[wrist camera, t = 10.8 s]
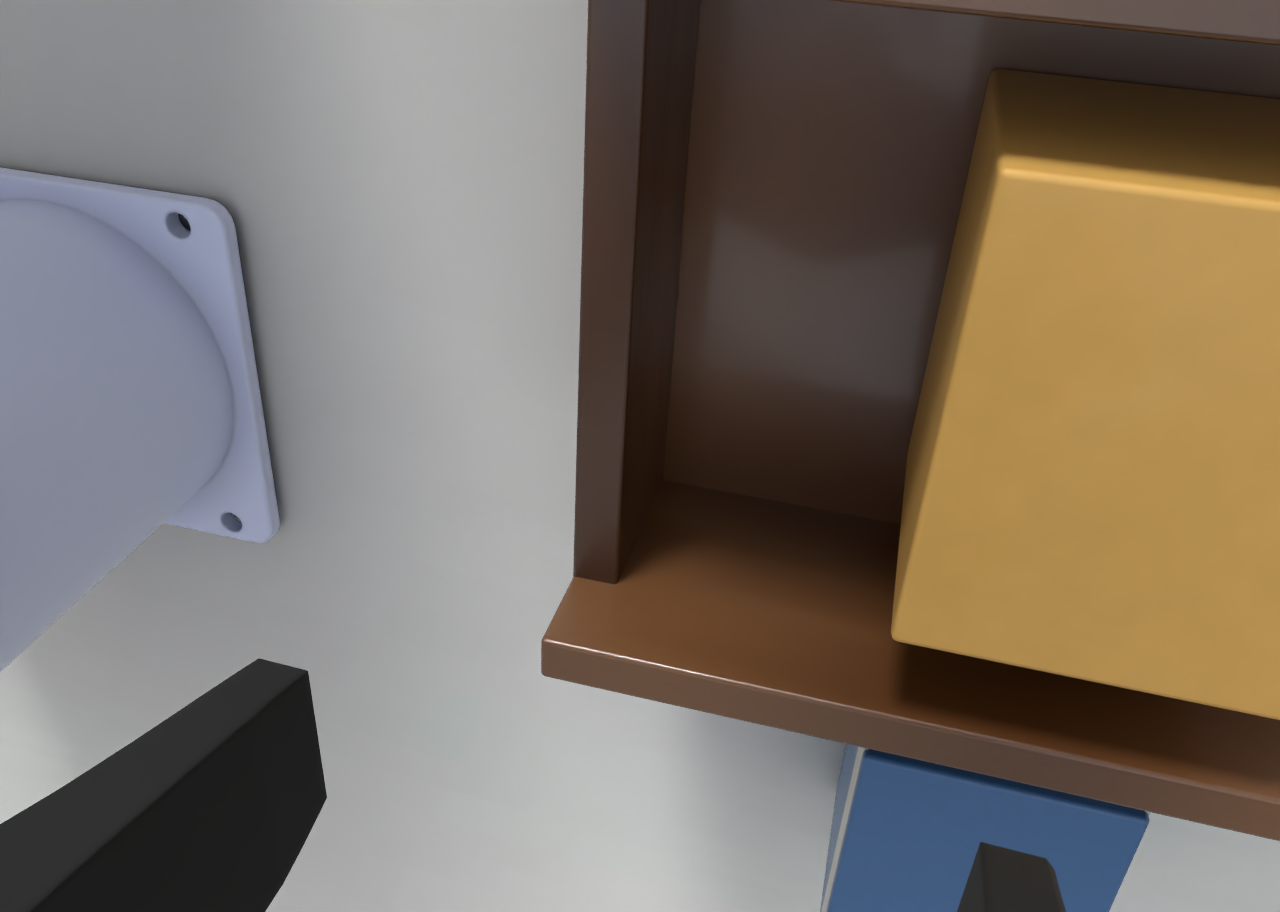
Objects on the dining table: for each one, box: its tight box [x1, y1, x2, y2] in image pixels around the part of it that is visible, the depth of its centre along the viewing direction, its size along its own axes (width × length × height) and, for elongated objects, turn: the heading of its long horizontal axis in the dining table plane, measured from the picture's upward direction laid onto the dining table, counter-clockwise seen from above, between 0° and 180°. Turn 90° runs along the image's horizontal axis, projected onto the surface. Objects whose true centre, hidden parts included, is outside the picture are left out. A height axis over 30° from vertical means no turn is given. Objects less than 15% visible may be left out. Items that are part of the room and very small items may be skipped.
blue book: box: [820, 744, 1150, 912], centre depth 21 cm, size 4×6×5 cm
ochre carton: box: [891, 69, 1280, 720], centre depth 13 cm, size 5×6×5 cm
